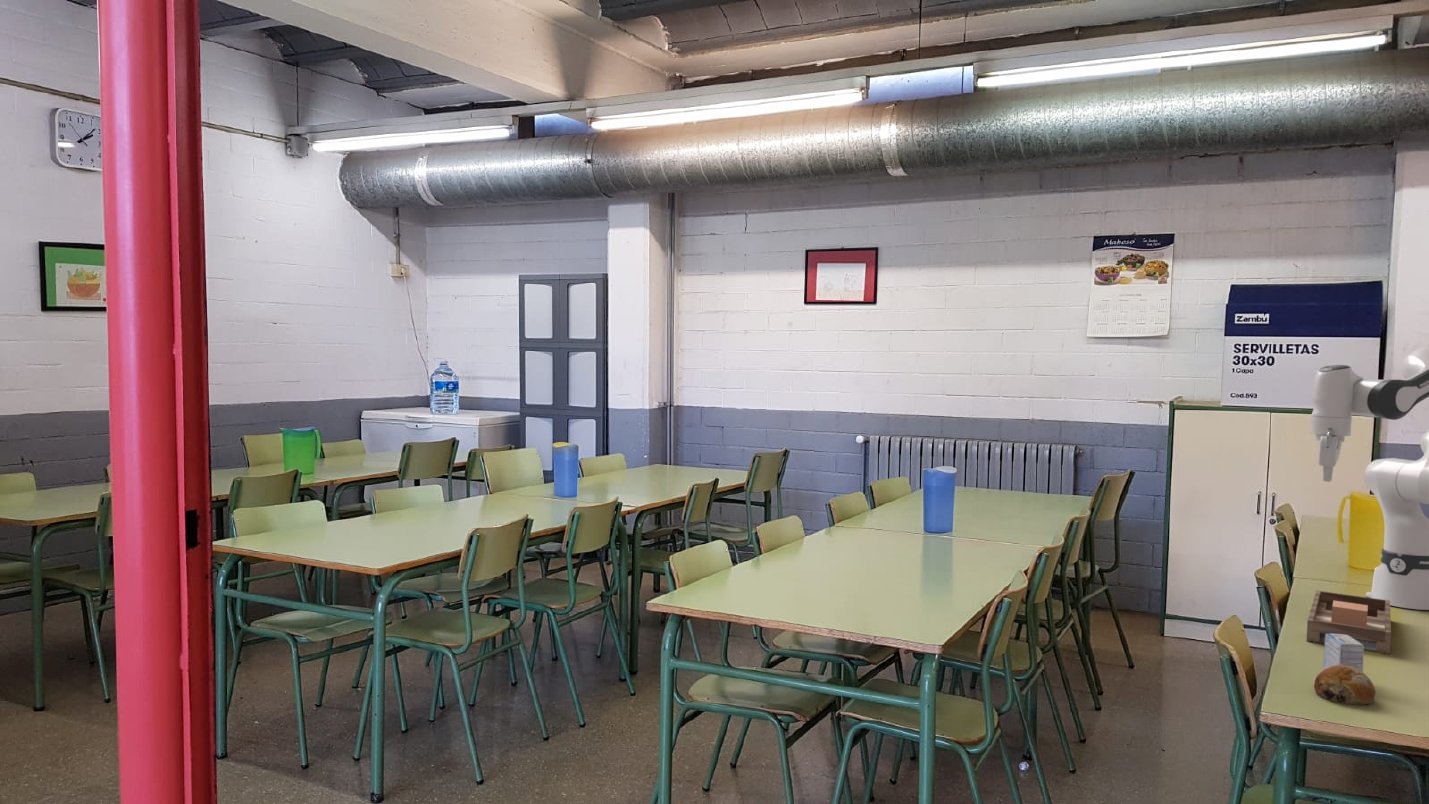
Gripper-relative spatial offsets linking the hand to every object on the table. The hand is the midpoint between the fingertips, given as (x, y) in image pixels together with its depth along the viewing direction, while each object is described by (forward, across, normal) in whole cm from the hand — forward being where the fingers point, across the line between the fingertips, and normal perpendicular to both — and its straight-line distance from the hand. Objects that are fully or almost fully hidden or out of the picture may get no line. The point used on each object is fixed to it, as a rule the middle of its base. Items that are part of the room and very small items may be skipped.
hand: (1327, 481), depth 257 cm
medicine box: (+34, -63, -7) cm, 72 cm away
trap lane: (+34, -17, -7) cm, 39 cm away
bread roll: (+35, -75, -8) cm, 83 cm away
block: (+32, -22, -7) cm, 39 cm away
